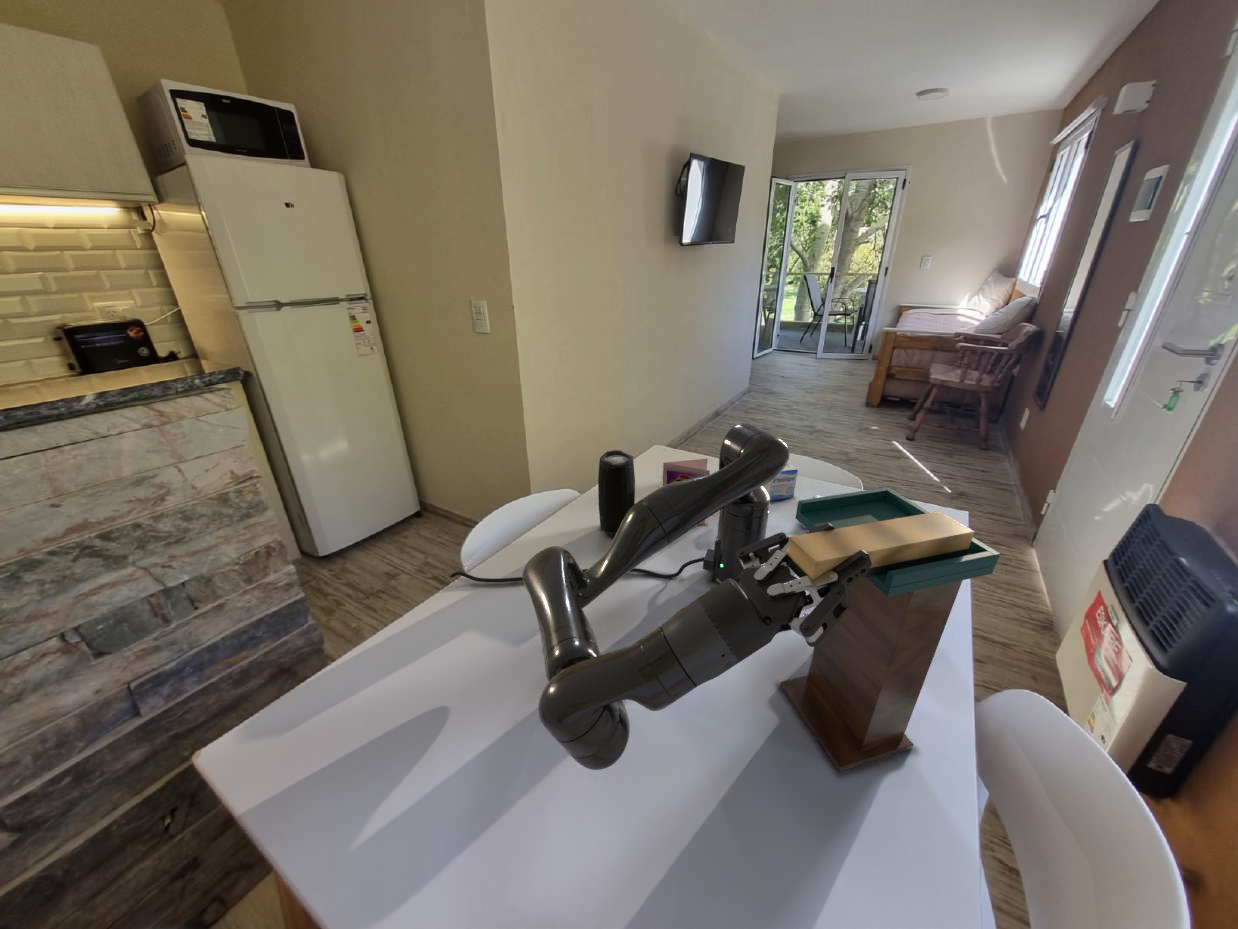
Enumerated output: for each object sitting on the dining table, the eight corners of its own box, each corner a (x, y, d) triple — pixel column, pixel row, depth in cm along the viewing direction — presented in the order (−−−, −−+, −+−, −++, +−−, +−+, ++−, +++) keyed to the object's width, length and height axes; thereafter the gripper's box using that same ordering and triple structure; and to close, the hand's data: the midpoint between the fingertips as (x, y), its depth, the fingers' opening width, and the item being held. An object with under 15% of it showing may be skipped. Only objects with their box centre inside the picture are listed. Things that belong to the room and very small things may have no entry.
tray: (887, 597, 49) (893, 575, 48) (795, 518, 63) (798, 500, 62) (992, 574, 52) (1000, 553, 51) (882, 504, 66) (887, 486, 65)
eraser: (810, 589, 48) (816, 561, 47) (784, 562, 52) (789, 536, 51) (965, 557, 53) (975, 531, 52) (931, 535, 57) (939, 510, 56)
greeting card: (660, 517, 122) (662, 464, 116) (668, 503, 128) (671, 452, 122) (703, 526, 118) (708, 472, 112) (710, 512, 124) (715, 459, 118)
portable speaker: (601, 541, 112) (599, 466, 104) (597, 520, 121) (595, 449, 112) (637, 538, 113) (638, 463, 105) (631, 518, 122) (631, 447, 113)
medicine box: (768, 501, 129) (772, 472, 126) (759, 494, 133) (763, 466, 130) (793, 497, 131) (798, 469, 128) (784, 490, 135) (789, 462, 132)
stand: (838, 772, 63) (895, 587, 50) (779, 686, 76) (812, 520, 63) (912, 749, 66) (983, 568, 53) (843, 670, 79) (888, 507, 66)
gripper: (734, 665, 42) (895, 559, 42) (674, 568, 55) (798, 486, 55) (762, 705, 46) (910, 608, 46) (700, 606, 59) (817, 530, 59)
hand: (849, 542), depth 51 cm, fingers closed on eraser, 4 cm apart
